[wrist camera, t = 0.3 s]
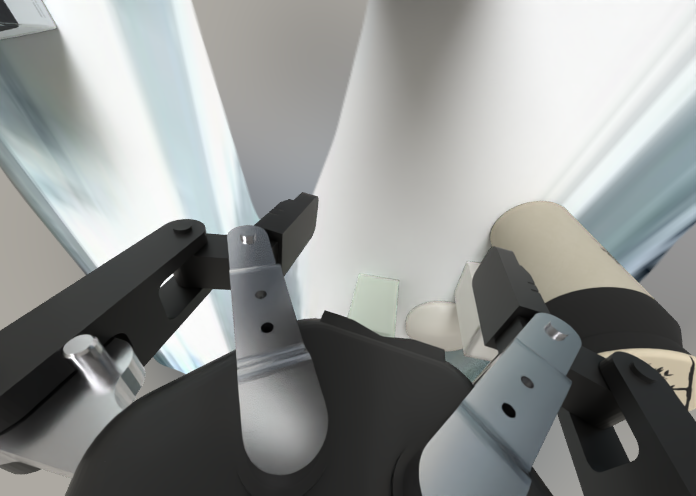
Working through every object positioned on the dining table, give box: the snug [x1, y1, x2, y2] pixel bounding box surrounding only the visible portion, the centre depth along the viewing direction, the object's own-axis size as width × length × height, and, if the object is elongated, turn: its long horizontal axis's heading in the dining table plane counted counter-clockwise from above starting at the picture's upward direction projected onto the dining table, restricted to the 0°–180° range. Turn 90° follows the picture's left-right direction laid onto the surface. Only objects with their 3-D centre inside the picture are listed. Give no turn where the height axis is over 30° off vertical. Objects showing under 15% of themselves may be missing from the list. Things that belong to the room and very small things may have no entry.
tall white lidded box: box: [454, 261, 498, 361], centre depth 31 cm, size 6×6×10 cm
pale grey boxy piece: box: [348, 274, 399, 338], centre depth 36 cm, size 6×6×10 cm
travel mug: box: [490, 201, 696, 411], centre depth 22 cm, size 8×8×18 cm
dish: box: [406, 301, 463, 351], centre depth 41 cm, size 11×11×1 cm
